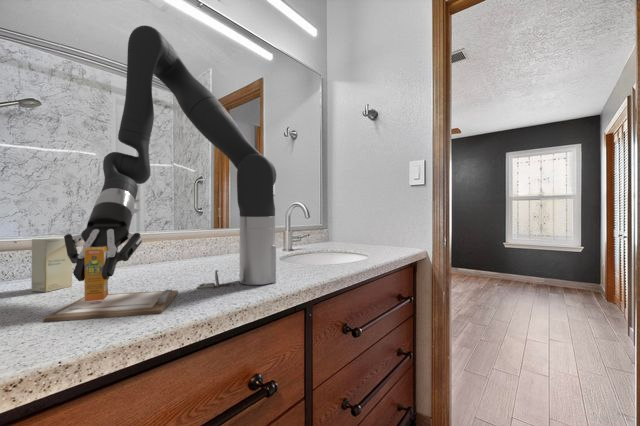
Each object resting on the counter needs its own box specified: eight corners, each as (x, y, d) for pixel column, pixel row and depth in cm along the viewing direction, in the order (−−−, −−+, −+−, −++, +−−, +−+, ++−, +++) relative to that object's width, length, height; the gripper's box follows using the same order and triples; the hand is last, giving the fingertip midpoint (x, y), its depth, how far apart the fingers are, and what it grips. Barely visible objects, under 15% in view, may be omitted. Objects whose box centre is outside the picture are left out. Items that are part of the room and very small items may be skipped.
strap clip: (197, 290, 71) (197, 273, 71) (198, 287, 74) (198, 270, 74) (234, 288, 74) (234, 270, 74) (234, 285, 76) (234, 268, 76)
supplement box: (83, 302, 56) (82, 248, 56) (88, 297, 59) (88, 246, 59) (104, 299, 57) (103, 247, 57) (109, 295, 60) (108, 245, 60)
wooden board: (178, 292, 68) (178, 284, 68) (161, 313, 54) (161, 303, 54) (86, 298, 64) (86, 289, 64) (43, 321, 50) (43, 311, 50)
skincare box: (45, 292, 68) (45, 239, 68) (30, 291, 69) (30, 239, 69) (73, 286, 74) (73, 237, 74) (59, 285, 75) (58, 236, 75)
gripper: (69, 200, 63) (37, 269, 51) (146, 201, 67) (131, 264, 56) (80, 224, 68) (53, 291, 56) (151, 223, 72) (138, 285, 61)
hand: (92, 277), depth 56 cm, fingers closed on supplement box, 3 cm apart
